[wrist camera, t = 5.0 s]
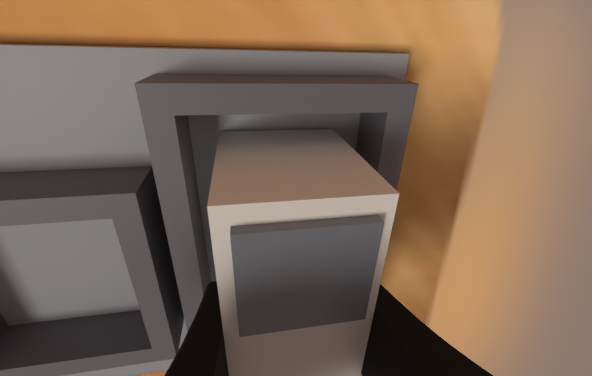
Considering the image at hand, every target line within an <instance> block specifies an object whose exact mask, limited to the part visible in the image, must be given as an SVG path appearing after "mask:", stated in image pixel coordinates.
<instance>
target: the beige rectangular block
mask: <svg viewBox="0 0 592 376" xmlns="http://www.w3.org/2000/svg"><path fill="white" fill-rule="evenodd" d="M398 198H399V193H398V192H397V191H396V190H395V189H394V188H393V187H392V186H391V185H390V184H389V183H388V182H387V181H386V180H385V179H384V178H383V177H382V176H381V175H380V174H379V173H378V172H377V171H376V170H375V169H374V168H373V167H372V166H371V165H369V164H368V163H367V162H366V161H365V160H364V159H363V158H362V157H361V156H360V155H359V154H358V153H357V152H356V151H355V150H354V149H353V148H352V147H351V146H350V145H349V144H348V143H347V142H346V141H345V140H344V139H343V138H342V137H340V136H339V135H338V134H337V133H336V132H335V131H334V130H333V129H301V130H260V131H219V136H218V142H217V149H216V155H215V161H214V167H213V173H212V179H211V185H210V191H209V197H208V203H207V210H208V218H209V226H210V234H211V241H212V249H213V257H214V265H215V272H216V280H217V288H218V296H219V303H220V311H221V319H222V327H223V335H224V342H225V350H226V358H227V366H228V373H229V376H360V375H361V371H362V366H363V361H364V357H365V352H366V347H367V343H368V338H369V333H370V329H371V324H372V319H373V315H374V310H375V305H376V301H377V296H378V291H379V287H380V282H381V277H382V273H383V268H384V263H385V259H386V254H387V249H388V245H389V240H390V236H391V231H392V226H393V222H394V217H395V212H396V208H397V203H398Z"/></svg>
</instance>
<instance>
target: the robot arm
mask: <svg viewBox="0 0 592 376" xmlns="http://www.w3.org/2000/svg"><path fill="white" fill-rule="evenodd" d="M361 373H362V376H493V375H491V374H490V373H488V372H487V371H486V370H484V369H482V368H481V367H480V366H478V365H477V364H475V363H474V362H473V361H471V360H470V359H468V358H467V357H466V356H464V355H463V354H462V353H460V352H459V351H458V350H456V349H455V348H453V347H452V346H451V345H449V344H448V343H447V342H446V341H444V340H443V339H442V338H441V337H439V336H438V335H437V334H436V333H435V332H433V331H432V330H431V329H430V328H428V327H427V326H426V325H425V324H424V323H422V322H421V321H420V320H419V319H418V318H417V317H415V316H414V315H413V314H412V313H411V312H410V311H409V310H408V309H407V308H405V307H404V306H403V305H402V304H401V303H400V302H399V301H398V300H397V299H396V298H395V297H393V296H392V295H391V294H390V293H389V292H388V291H387V290H386V289H385V288H384V287H383V286H382V285H381V284H380V287H379V291H378V296H377V301H376V305H375V310H374V315H373V319H372V324H371V329H370V333H369V338H368V343H367V347H366V352H365V357H364V361H363V366H362V371H361ZM165 376H229V373H228V366H227V358H226V350H225V342H224V335H223V327H222V319H221V311H220V303H219V296H218V288H217V281H213V282H209V283H208V284H207V286H206V289H205V293H204V295H203V298H202V301H201V303H200V306H199V308H198V310H197V313H196V315H195V317H194V320H193V322H192V324H191V326H190V328H189V330H188V332H187V334H186V336H185V338H184V341H183V343H182V345H181V347H180V348H179V350H178V352H177V354H176V356H175V358H174V360H173V361H172V363H171V365H170V367H169V369H168V370H167V372H166V374H165Z"/></svg>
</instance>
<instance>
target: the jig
mask: <svg viewBox="0 0 592 376" xmlns="http://www.w3.org/2000/svg"><path fill="white" fill-rule="evenodd" d="M409 55H410V54H405V53H394V52H351V51H308V50H265V49H221V48H178V47H135V46H91V45H48V44H5V43H0V376H132V375H139V374H145V373H152V372H158V371H164V370H168V369H169V367H170V365H171V363H172V361H173V360H174V358H175V356H176V354H177V352H178V350H179V348H180V347H181V345H182V343H183V341H184V338H185V336H186V334H187V332H188V330H189V328H190V326H191V324H192V322H193V320H194V317H195V315H196V313H197V310H198V308H199V306H200V303H201V301H202V298H203V295H204V293H205V289H206V286H207V284H208V283H209V282H213V281H217V280H216V272H215V265H214V257H213V249H212V241H211V234H210V226H209V218H208V210H207V203H208V197H209V191H210V185H211V179H212V173H213V167H214V161H215V155H216V149H217V142H218V136H219V131H260V130H301V129H333V130H334V131H335V132H336V133H337V134H338V135H339V136H340V137H342V138H343V139H344V140H345V141H346V142H347V143H348V144H349V145H350V146H351V147H352V148H353V149H354V150H355V151H356V152H357V153H358V154H359V155H360V156H361V157H362V158H363V159H364V160H365V161H366V162H367V163H368V164H369V165H371V166H372V167H373V168H374V169H375V170H376V171H377V172H378V173H379V174H380V175H381V176H382V177H383V178H384V179H385V180H386V181H387V182H388V183H389V184H390V185H391V186H392V187H393V188H394V189H395V190H396V189H397V185H398V180H399V175H400V170H401V165H402V160H403V156H404V151H405V146H406V141H407V136H408V131H409V127H410V122H411V117H412V112H413V107H414V103H415V98H416V93H417V88H418V84H416V83H412V82H409V81H405V76H406V71H407V66H408V60H409Z"/></svg>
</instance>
